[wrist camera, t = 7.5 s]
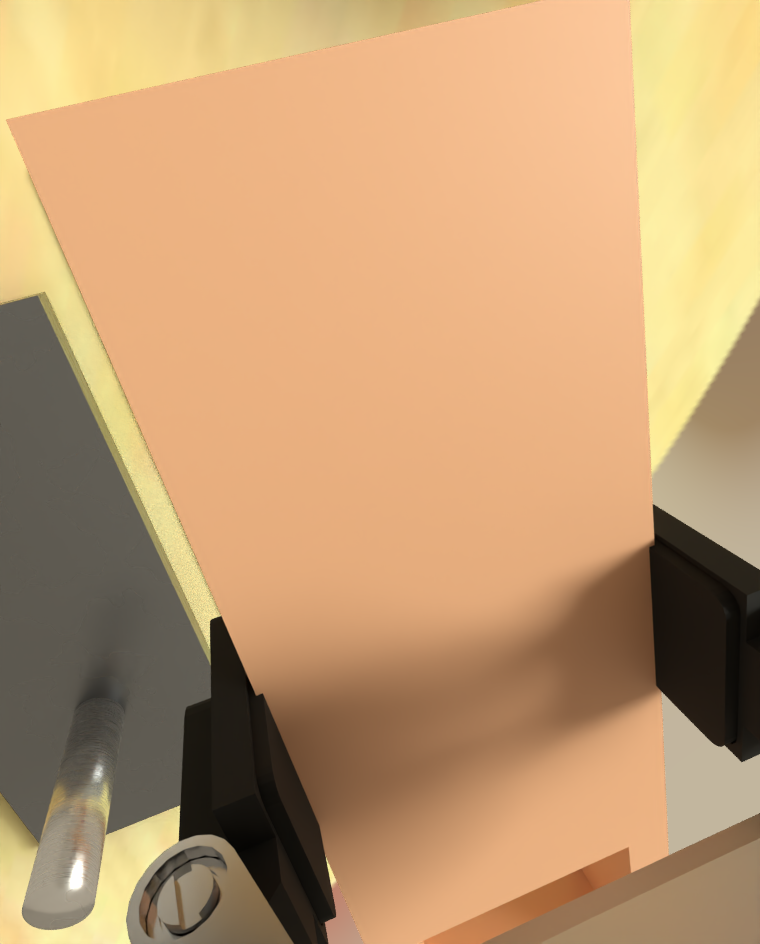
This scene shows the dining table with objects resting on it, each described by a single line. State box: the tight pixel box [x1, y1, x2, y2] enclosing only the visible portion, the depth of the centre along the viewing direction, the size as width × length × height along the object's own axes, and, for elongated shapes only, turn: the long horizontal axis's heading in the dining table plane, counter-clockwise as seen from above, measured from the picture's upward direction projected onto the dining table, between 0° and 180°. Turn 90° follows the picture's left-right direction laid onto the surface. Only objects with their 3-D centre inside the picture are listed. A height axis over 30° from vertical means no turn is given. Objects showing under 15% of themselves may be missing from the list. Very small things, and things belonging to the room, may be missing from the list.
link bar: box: [6, 0, 669, 944], centre depth 11 cm, size 20×6×3 cm, turn 14°
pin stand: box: [0, 292, 211, 930], centre depth 20 cm, size 23×10×9 cm, turn 14°
